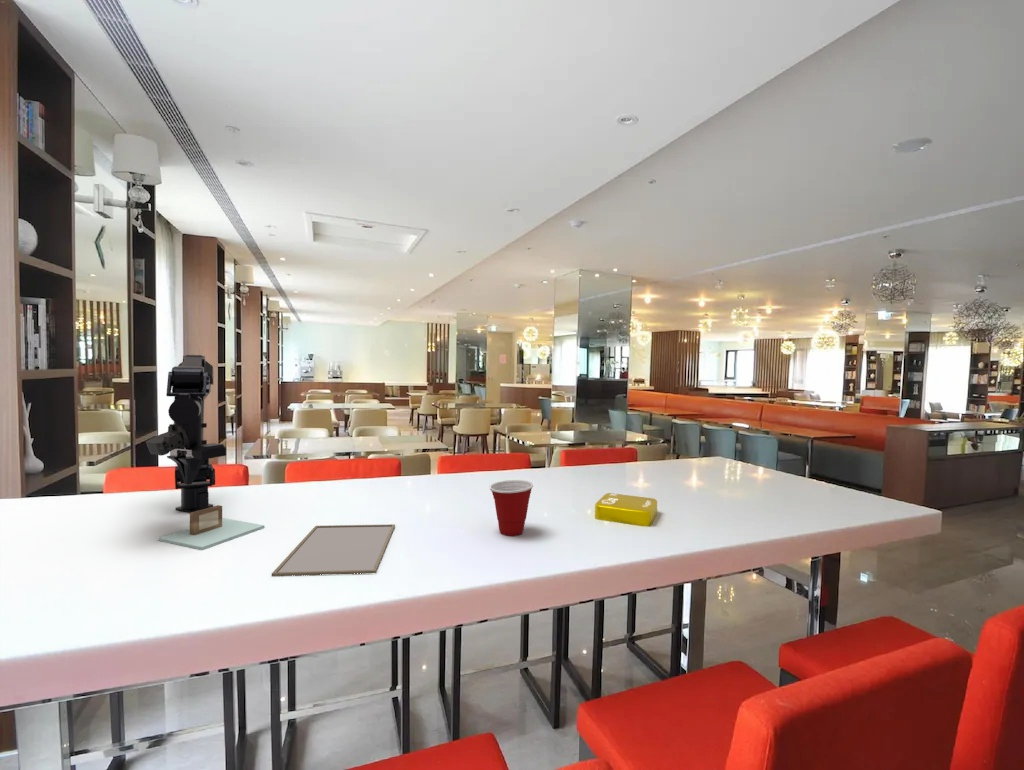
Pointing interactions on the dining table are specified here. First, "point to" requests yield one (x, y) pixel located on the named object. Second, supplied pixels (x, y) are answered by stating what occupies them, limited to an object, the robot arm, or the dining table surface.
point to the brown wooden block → (205, 520)
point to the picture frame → (338, 550)
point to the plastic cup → (511, 505)
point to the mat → (212, 534)
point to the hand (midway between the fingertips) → (188, 484)
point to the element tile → (626, 509)
